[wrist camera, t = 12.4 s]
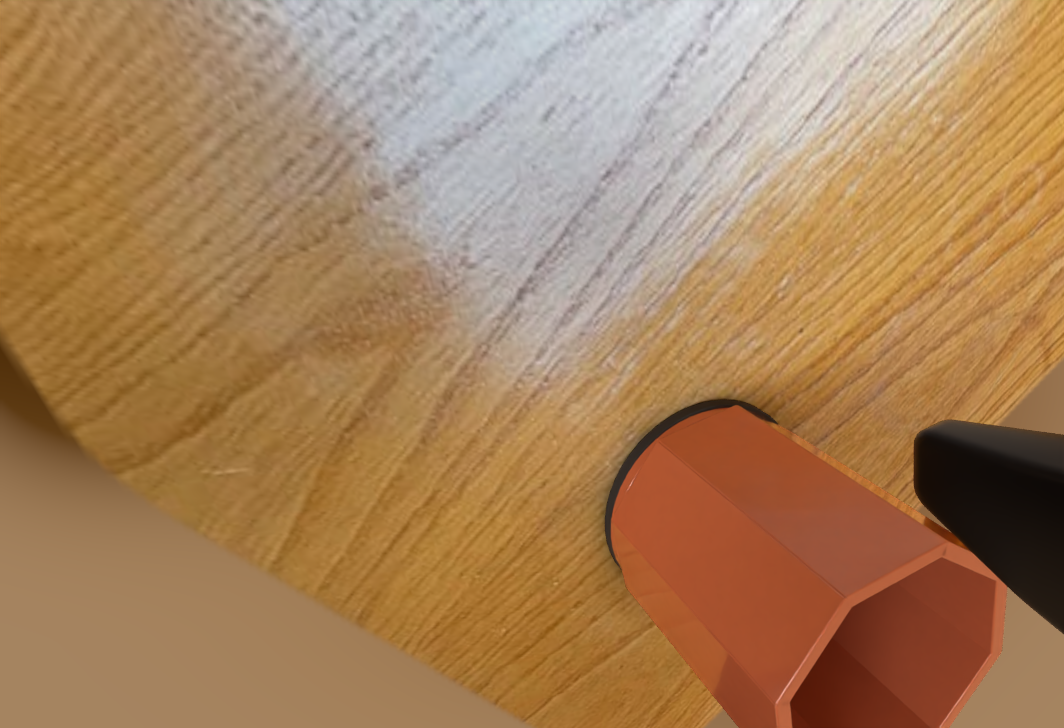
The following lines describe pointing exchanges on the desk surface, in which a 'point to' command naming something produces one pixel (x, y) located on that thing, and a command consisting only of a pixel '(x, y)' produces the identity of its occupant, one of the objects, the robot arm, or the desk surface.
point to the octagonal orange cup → (801, 581)
